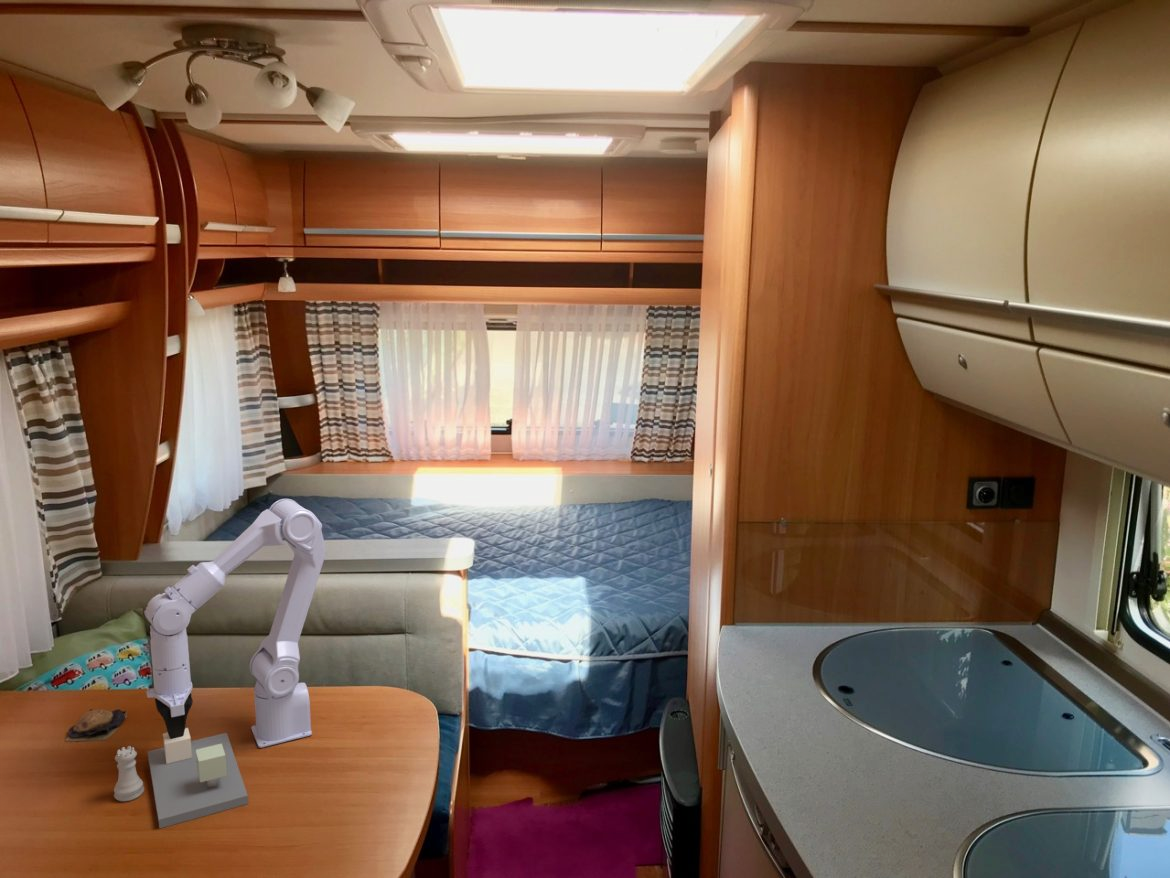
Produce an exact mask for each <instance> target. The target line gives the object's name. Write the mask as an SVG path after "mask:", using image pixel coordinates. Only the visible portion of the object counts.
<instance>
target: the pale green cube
mask: <svg viewBox="0 0 1170 878" xmlns="http://www.w3.org/2000/svg"><path fill="white" fill-rule="evenodd" d="M196 762H197V772H198V776H199V780H200V782H204V781H208V780H212V779H216V778H219V777H223V776H227V773H226V758H225V752H224V749H223V746H222V744H217V745H213V746H209V747H205V748H201V749H197V750H196Z"/></svg>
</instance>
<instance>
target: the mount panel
mask: <svg viewBox="0 0 1170 878" xmlns="http://www.w3.org/2000/svg"><path fill="white" fill-rule="evenodd" d="M217 744H222V746H223V749H224V752H225V758H226V773H227V776H223V777H219V778H216V779H212V780H208V781H204V782H200V780H199V776H198V772H197V762H196V750H197V749H201V748H205V747H209V746H213V745H217ZM191 750H192V758H189V759H185V760H180V761H176V762H172V763H168V764H167V763H166V758H165V753H164V747H161V748H157V749H151V750H148V751H147V758H148V759H147V760H148V765H149V771H150V772H149V773H150V777H151V779H150V780H151V784H152V789H153V790H152V791H153V797H154V803H155V809H156V816H157V822H158V828H159V829H164V828H166V827H170V826H174V825H177V824H181V823H185V822H188V821H191V820H192V821H193V820H195V819H198V818H202V817H206V816H210V815H214V814H216V813H219V812H220V813H221V812H224V811H228V810H232V809H234V808H239V807H241V806H245V805H249V795H248V793H247V789H246V786H245V783H244V780H243V776H242V774H241V772H240V771H241V770H240V768H239V765H238V762H237V760H236V757H235V753H234V750H233V747H232V744H231V741H230V739H229V735H228V733H227V732H224V733H223V732H222V733H220V734H216V735H211V736H207V737H203V738H200V739H199V738H198V739H194V740H191Z"/></svg>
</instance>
